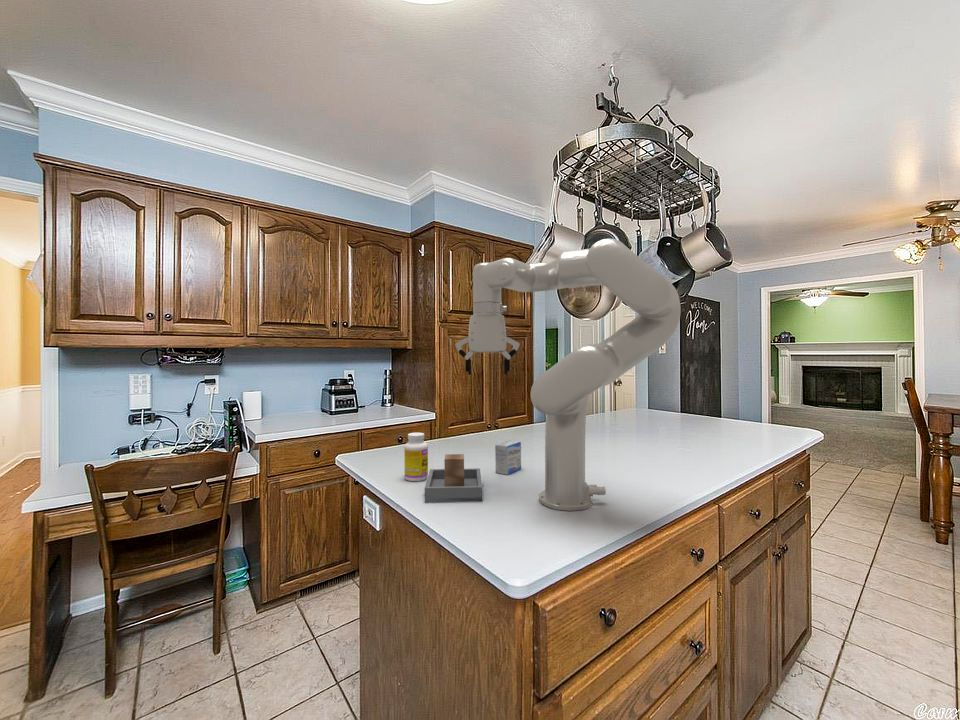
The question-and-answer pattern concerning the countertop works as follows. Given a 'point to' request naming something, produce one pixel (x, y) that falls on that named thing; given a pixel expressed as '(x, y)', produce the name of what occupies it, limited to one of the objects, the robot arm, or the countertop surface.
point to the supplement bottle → (416, 458)
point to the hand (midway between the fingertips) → (487, 374)
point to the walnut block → (454, 469)
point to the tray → (453, 487)
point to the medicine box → (508, 457)
